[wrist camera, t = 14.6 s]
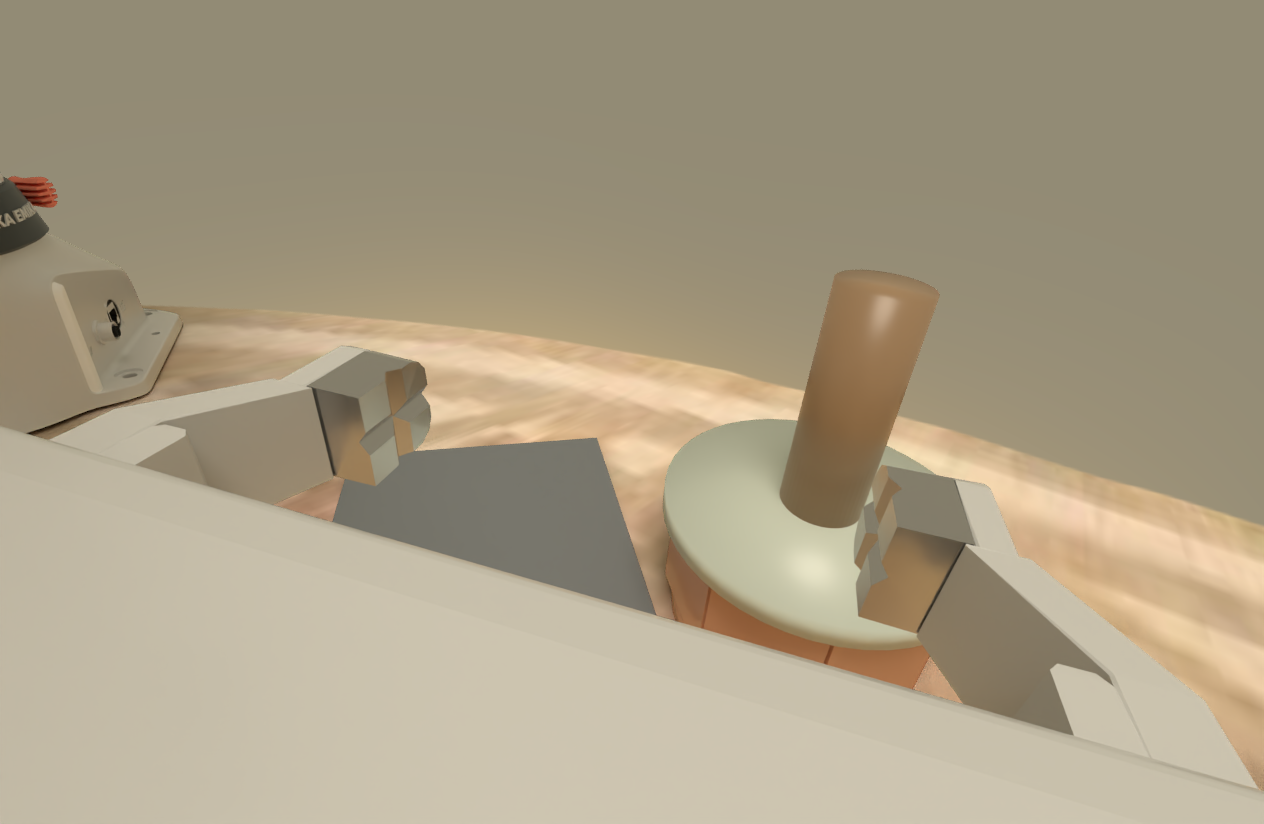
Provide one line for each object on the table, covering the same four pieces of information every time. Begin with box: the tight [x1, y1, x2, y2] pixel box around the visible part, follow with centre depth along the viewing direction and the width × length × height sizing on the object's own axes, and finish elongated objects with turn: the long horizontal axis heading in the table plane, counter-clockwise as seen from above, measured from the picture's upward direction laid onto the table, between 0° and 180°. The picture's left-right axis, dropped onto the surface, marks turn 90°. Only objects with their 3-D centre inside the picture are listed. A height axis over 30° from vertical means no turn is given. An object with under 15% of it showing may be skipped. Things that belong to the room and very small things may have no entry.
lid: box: [663, 270, 940, 650], centre depth 23 cm, size 14×14×11 cm
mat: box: [332, 438, 656, 615], centre depth 32 cm, size 16×16×1 cm
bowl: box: [665, 538, 930, 689], centre depth 28 cm, size 12×12×6 cm
